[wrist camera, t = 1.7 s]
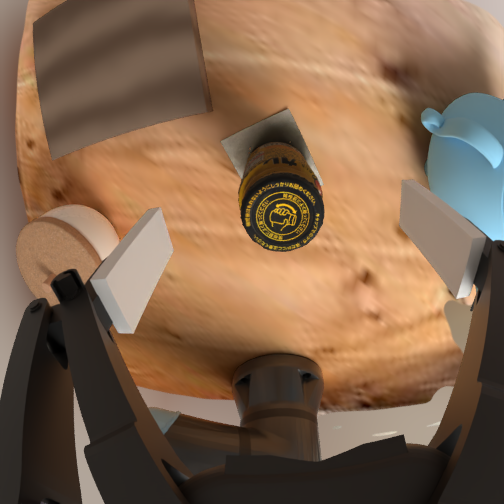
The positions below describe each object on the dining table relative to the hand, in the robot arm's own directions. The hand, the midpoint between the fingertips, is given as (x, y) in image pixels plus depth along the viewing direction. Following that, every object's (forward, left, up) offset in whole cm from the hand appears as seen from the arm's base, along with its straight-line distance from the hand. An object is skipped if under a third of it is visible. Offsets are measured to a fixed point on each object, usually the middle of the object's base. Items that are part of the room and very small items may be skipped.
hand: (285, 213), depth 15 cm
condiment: (0, 0, -15) cm, 15 cm away
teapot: (0, -23, -15) cm, 27 cm away
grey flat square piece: (+15, +14, -14) cm, 25 cm away
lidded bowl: (-5, +23, -15) cm, 28 cm away
